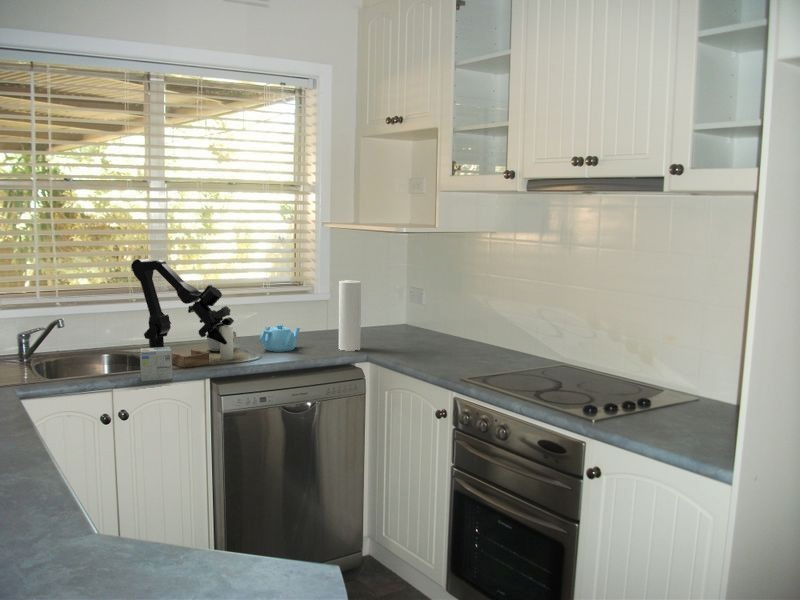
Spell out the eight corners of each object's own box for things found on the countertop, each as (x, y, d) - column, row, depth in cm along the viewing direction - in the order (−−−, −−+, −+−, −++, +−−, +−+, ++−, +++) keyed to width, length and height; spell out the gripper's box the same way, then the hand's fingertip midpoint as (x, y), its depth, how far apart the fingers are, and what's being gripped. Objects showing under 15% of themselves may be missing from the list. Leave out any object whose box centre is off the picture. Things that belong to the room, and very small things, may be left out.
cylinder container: (359, 351, 327) (360, 281, 323) (337, 351, 327) (338, 281, 323) (361, 347, 336) (361, 279, 332) (339, 346, 336) (340, 279, 333)
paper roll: (217, 358, 308) (217, 326, 306) (228, 356, 312) (228, 324, 310) (225, 360, 304) (224, 327, 303) (236, 358, 308) (235, 326, 306)
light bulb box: (171, 375, 277) (170, 346, 276) (172, 379, 271) (172, 349, 270) (140, 377, 273) (139, 347, 272) (141, 381, 267) (140, 351, 266)
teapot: (266, 345, 337) (266, 321, 336) (300, 346, 336) (300, 322, 335) (258, 352, 322) (258, 327, 321) (293, 353, 321) (293, 327, 320)
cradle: (169, 362, 298) (168, 352, 297) (192, 359, 305) (192, 348, 305) (185, 367, 290) (185, 356, 289) (209, 363, 297) (209, 353, 297)
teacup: (213, 353, 317) (213, 334, 316) (201, 349, 325) (201, 331, 324) (243, 350, 326) (243, 331, 324) (231, 346, 334) (231, 328, 333)
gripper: (204, 303, 297) (230, 333, 295) (229, 297, 315) (253, 326, 313) (187, 322, 301) (212, 351, 299) (212, 315, 318) (236, 343, 316)
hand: (229, 342), depth 307 cm, fingers closed on paper roll, 5 cm apart
